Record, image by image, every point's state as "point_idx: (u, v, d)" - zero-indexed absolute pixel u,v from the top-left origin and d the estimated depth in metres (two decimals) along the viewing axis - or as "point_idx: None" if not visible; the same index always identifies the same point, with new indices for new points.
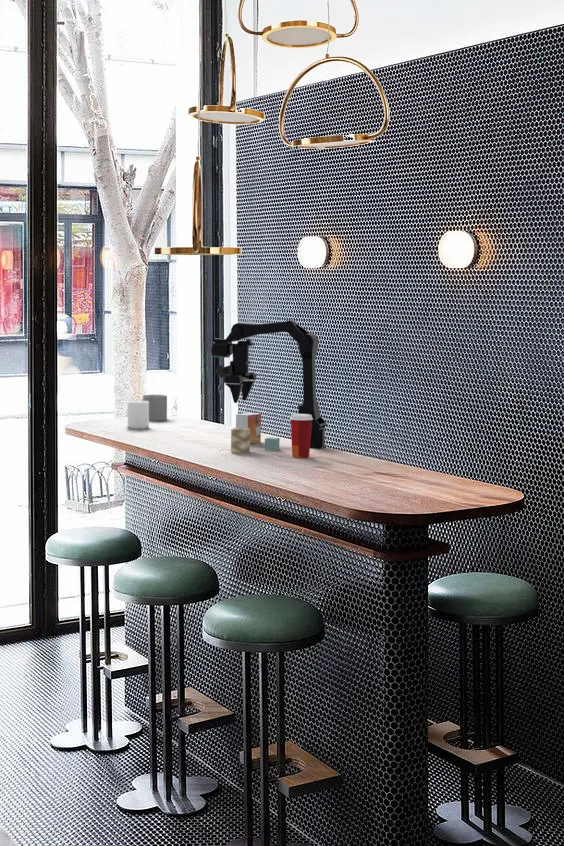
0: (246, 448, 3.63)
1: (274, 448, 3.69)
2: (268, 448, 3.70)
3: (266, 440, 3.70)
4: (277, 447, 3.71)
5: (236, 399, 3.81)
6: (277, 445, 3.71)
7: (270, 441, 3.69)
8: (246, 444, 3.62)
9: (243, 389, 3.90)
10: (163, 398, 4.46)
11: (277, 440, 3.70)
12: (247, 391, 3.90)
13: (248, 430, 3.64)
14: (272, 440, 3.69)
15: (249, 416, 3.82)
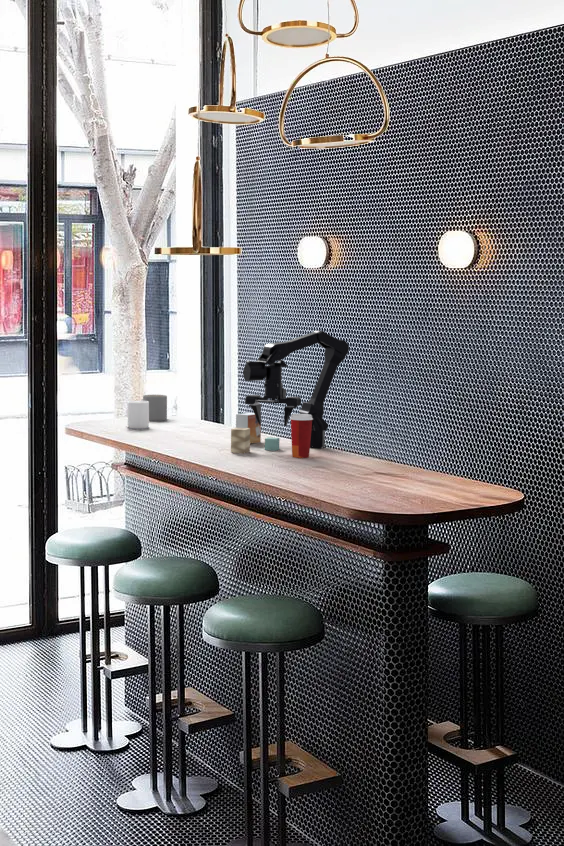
0: (246, 448, 3.63)
1: (274, 448, 3.69)
2: (268, 448, 3.70)
3: (266, 440, 3.70)
4: (277, 447, 3.71)
5: None
6: (277, 445, 3.71)
7: (270, 440, 3.69)
8: (246, 444, 3.62)
9: None
10: (163, 398, 4.46)
11: (277, 440, 3.70)
12: None
13: (248, 430, 3.64)
14: (272, 440, 3.69)
15: (249, 416, 3.82)
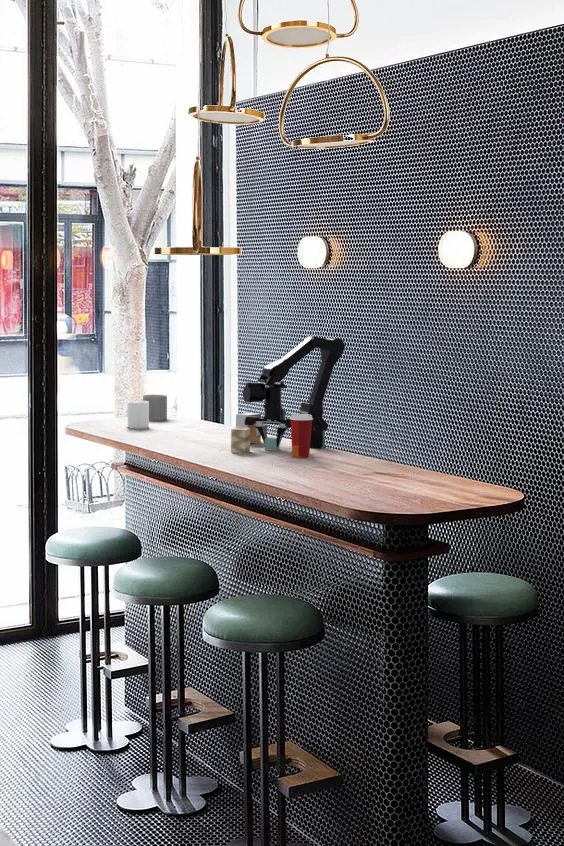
0: (246, 448, 3.63)
1: (274, 448, 3.69)
2: (268, 448, 3.70)
3: (266, 440, 3.70)
4: (277, 447, 3.71)
5: None
6: None
7: (270, 440, 3.69)
8: (246, 444, 3.62)
9: None
10: (163, 398, 4.46)
11: None
12: None
13: (248, 430, 3.64)
14: (272, 440, 3.69)
15: None
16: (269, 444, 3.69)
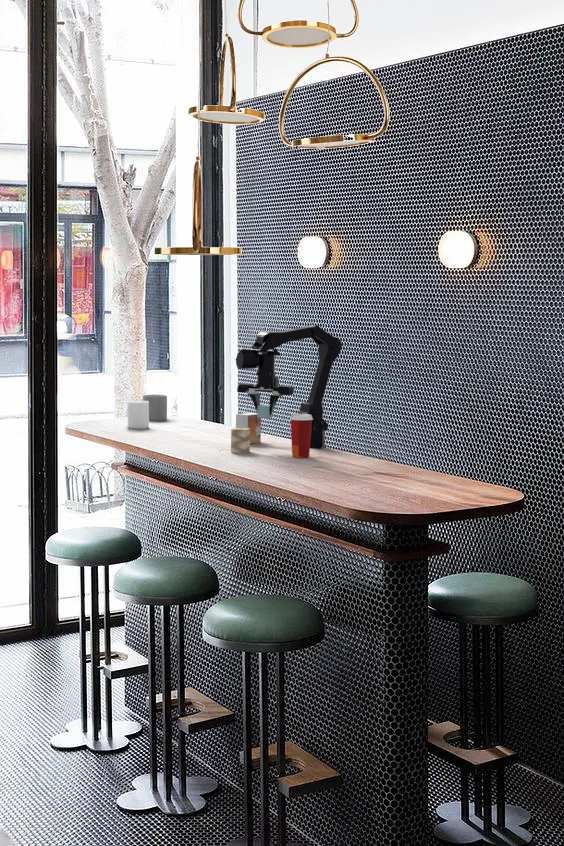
0: (246, 448, 3.63)
1: (267, 415, 3.66)
2: (261, 415, 3.67)
3: (259, 407, 3.67)
4: (270, 415, 3.68)
5: None
6: None
7: (263, 408, 3.66)
8: (246, 444, 3.62)
9: None
10: (163, 398, 4.46)
11: None
12: None
13: (248, 430, 3.64)
14: (265, 407, 3.66)
15: (249, 416, 3.82)
16: (262, 412, 3.66)
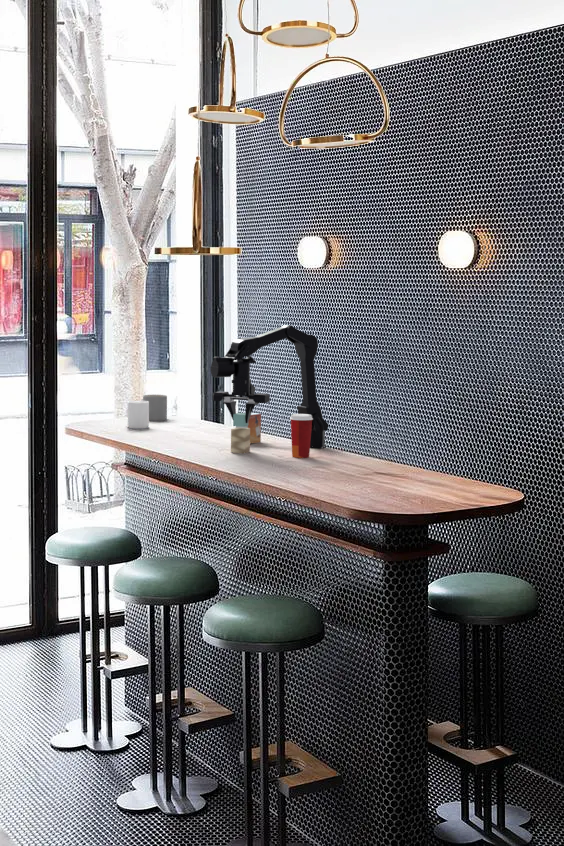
0: (246, 448, 3.63)
1: (243, 424, 3.61)
2: (237, 424, 3.62)
3: (234, 416, 3.62)
4: (246, 423, 3.63)
5: None
6: None
7: (239, 416, 3.61)
8: (246, 444, 3.62)
9: None
10: (163, 398, 4.46)
11: None
12: None
13: (248, 430, 3.64)
14: (241, 416, 3.61)
15: None
16: (237, 420, 3.61)
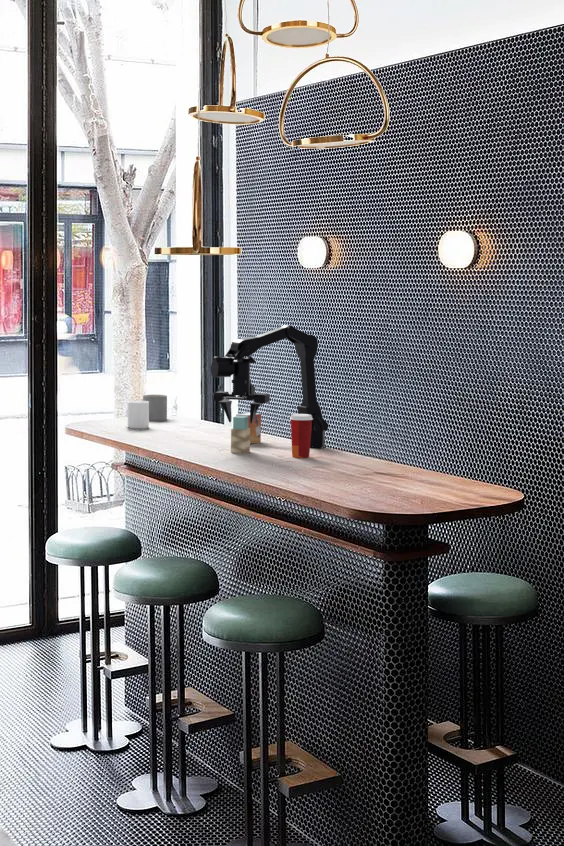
0: (246, 448, 3.63)
1: (242, 427, 3.61)
2: (236, 427, 3.62)
3: (234, 419, 3.62)
4: (246, 426, 3.63)
5: None
6: (246, 424, 3.63)
7: (239, 419, 3.61)
8: (246, 444, 3.62)
9: None
10: (163, 398, 4.46)
11: (246, 419, 3.62)
12: None
13: (248, 430, 3.64)
14: (240, 419, 3.61)
15: (249, 416, 3.82)
16: (237, 423, 3.62)
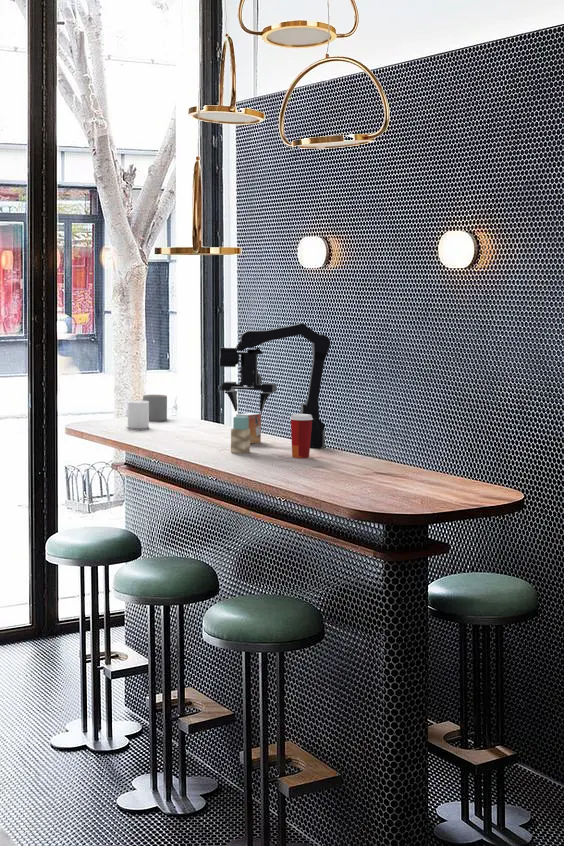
0: (246, 448, 3.63)
1: (243, 427, 3.61)
2: (237, 427, 3.62)
3: (235, 419, 3.62)
4: (246, 426, 3.63)
5: None
6: (246, 424, 3.63)
7: (239, 419, 3.61)
8: (246, 444, 3.62)
9: None
10: (163, 398, 4.46)
11: (246, 419, 3.62)
12: None
13: (248, 430, 3.64)
14: (241, 419, 3.61)
15: (249, 416, 3.82)
16: (238, 423, 3.61)
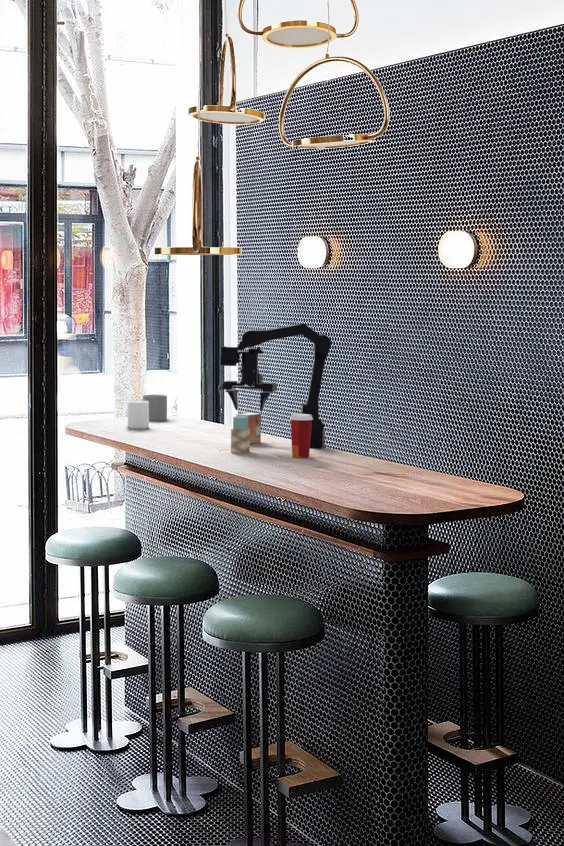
0: (246, 448, 3.63)
1: (243, 427, 3.61)
2: (236, 427, 3.62)
3: (234, 419, 3.62)
4: (246, 426, 3.63)
5: None
6: (246, 424, 3.63)
7: (239, 419, 3.61)
8: (246, 444, 3.62)
9: None
10: (163, 398, 4.46)
11: (246, 419, 3.62)
12: None
13: (248, 430, 3.64)
14: (240, 419, 3.61)
15: (249, 416, 3.82)
16: (237, 423, 3.61)
